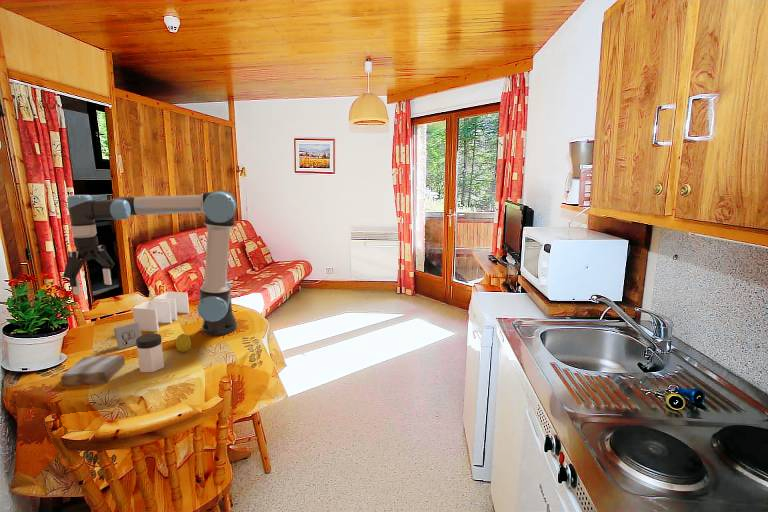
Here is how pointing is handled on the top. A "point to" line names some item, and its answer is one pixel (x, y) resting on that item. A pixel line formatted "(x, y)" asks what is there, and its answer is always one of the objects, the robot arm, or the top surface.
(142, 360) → the jar
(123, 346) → the electrical switch
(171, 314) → the white domino row
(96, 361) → the stand
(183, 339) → the lemon
